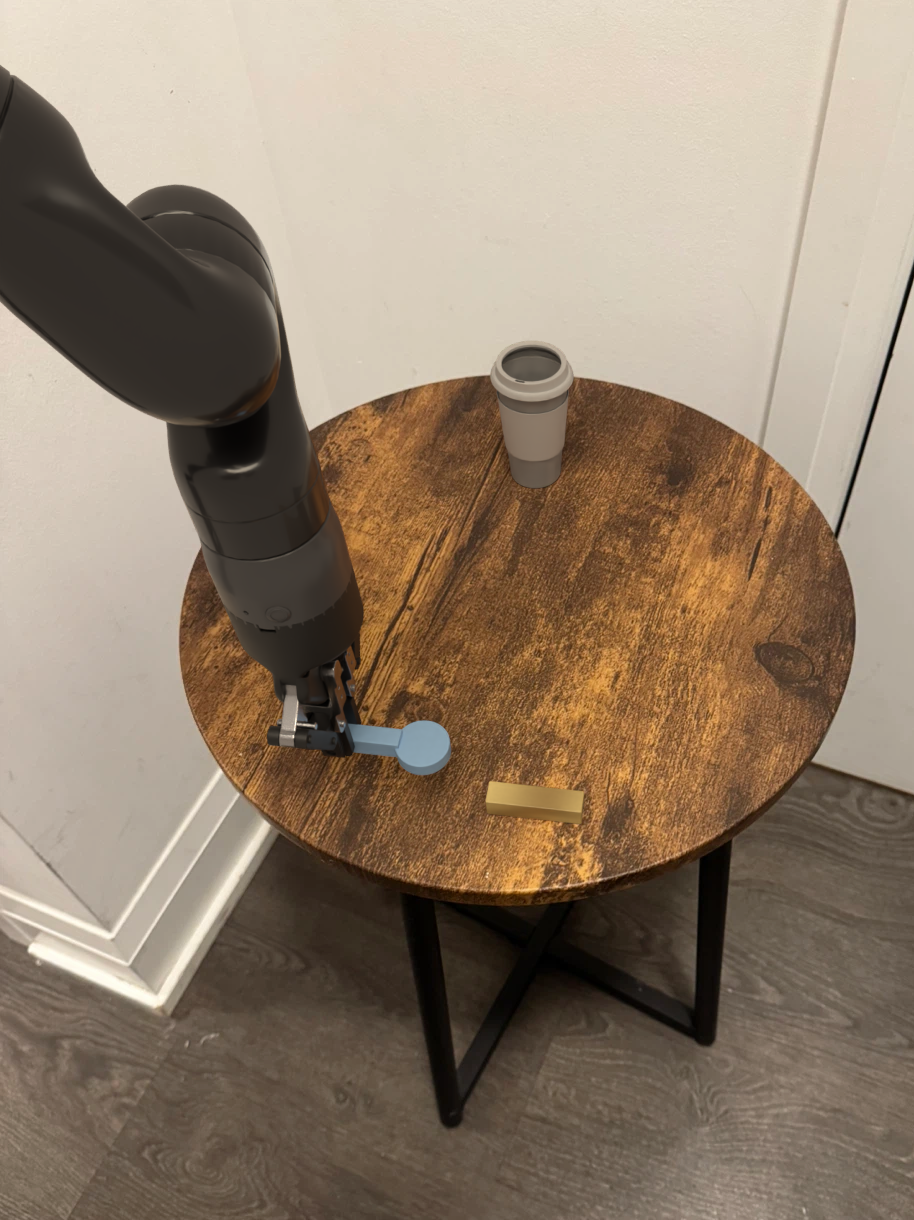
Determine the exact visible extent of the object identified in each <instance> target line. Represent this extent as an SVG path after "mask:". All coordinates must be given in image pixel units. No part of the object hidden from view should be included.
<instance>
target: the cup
mask: <svg viewBox="0 0 914 1220" xmlns="http://www.w3.org/2000/svg"><path fill="white" fill-rule="evenodd" d="M574 374H575V373H574V370H573V367H572V365H571V363H570V362H569V360H568V359H567V357H566V355H565V353H564V352H563V351H562V350H561V349H560V348H559V347H558V346H556V345H554V344H551V343H549V342H546V341H542V340H524V341H519V342H514V343H513V344H510V345H508V346H506V347H505V348H503V349H502V350H501V351H500V352H499V354H497V357H496V360H495V361H494V363H493V364H492V366H491V369H490V374H489V378H490V382H491V385H492V386H493V388H494V389H495V390H496V397H497V403H498V409H499V410H498V411H499V416H500V423H501V428H502V433H503V440H504V445H505V448H506V451H507V455H508V461H509V468H510V475H511V477H512V479H513V480H514V482H516V483H517V484H519V485H520V486H522V487H524V488H527V489H542V488H546V487H548V486H551V485H552V484H554V483H555V482H556V481H557V480H558V479H559V478H560V476H561V471H562V460H563V459H562V458H563V449H564V447H565V440H566V429H567V417H568V404H569V393H570V392H569V388H570V387H571V386H572V384H573V382H574Z"/></svg>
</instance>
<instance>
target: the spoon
mask: <svg viewBox="0 0 914 1220" xmlns="http://www.w3.org/2000/svg"><path fill="white" fill-rule="evenodd" d="M348 726H349V729H350V732H351V735H352V738H353V742H354V745H355V748H354V752H353V753H356V754H365V755H373V756H380V757H381V756H382V757H392V758H396V760H397V762H398V764H399V765H400V767H401V768H402V769H404V770H405V772H408V773H410V774H412V775H415V776H428V775H432V774H436V773H437V772H439V771H441V770H442V769H443V768H444V767H445V766H446V765H447V764H448V762H449V761H450V758H451V755H452V746H451V744H452V743H451V739H450V735H449V733H448V731H447V729H445V728H444V726H442V725H441V724H439V723H438V722H435V721H433V720H432V721H431V720H416V721H412V722H410V723H408V724H407V725H405V726H404V727H402V728H394V727H386V726H385V727H384V726H376V725H367V724H361V725H359V724H358V725H356V724H348Z"/></svg>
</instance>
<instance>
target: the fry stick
mask: <svg viewBox="0 0 914 1220" xmlns="http://www.w3.org/2000/svg"><path fill="white" fill-rule="evenodd" d="M484 802H485V810H486V814H488V815H494V816H503V817H511V818H512V817H514V818H521V819H530V820H531V819H532V820H538V821H539V820H540V821H549V822H557V823H558V822H559V823H565V824H566V823H567V824H576V825H577V824H578V825H582V822H583V817H584V816H583V815H584V810H585V809H584V808H585V791H583V790H575V789H566V788H558V787H557V788H556V787H548V786H547V787H546V786H540V785H539V786H538V785H531V784H530V785H529V784H520V783H511V782H502V781H501V782H500V781H492V780H490V781H489V782H488V786H487V791H486V796H485V801H484Z"/></svg>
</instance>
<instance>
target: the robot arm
mask: <svg viewBox="0 0 914 1220" xmlns="http://www.w3.org/2000/svg"><path fill="white" fill-rule="evenodd" d="M274 274H275V273H274V270H273V267H272V263H271V260H270V257H269V254H268V252H267V249H266V247H265V245H264V243H263V241H262V239H261V237H260V236H259V233H257V231H256V229H255V227H253V225H252V224H251V223H250V222H249V220H248V219H247V218H246V217H245V216H244V215H243V214H242V213H241V212H240V211H239V210H238V209H237V208H236V207H235V206H233V205H232V204H231V203H229V202H228V201H226V200H225V199H223V198H222V197H220V196H219V195H217V194H215V193H213V192H210V191H208V190H206V189H203V188H200V187H197V186H193V185H187V184H177V183H176V184H167V185H161V186H160V185H159V186H155V187H153V188H150V189H147V190H146V191H144V192H142V193H140V194H139V195H137V196H136V197H134V198H133V199H132V200H131V201H129V202H128V203H127V204H126V205H125V204H124V202H122V201H121V200H120V199H118V198H117V197H116V196H115V195H114V194H113V193H111V191H110V190H108V188H107V187H105V186H104V184H103V183H102V182H101V181H100V179H99V178H98V177H97V176H96V174H95V172H94V170H93V169H92V167H91V164H90V162H89V160H88V158H87V154H86V152H85V149H84V146H83V145H82V142H81V140H80V138H79V136H78V133H77V132H76V130H75V129H74V126H73V125H72V124H71V123H70V121H69V120H68V119H67V118H66V117H65V116H64V114H63V113H61V112H60V111H59V110H58V109H57V108H56V107H55V105H53V104H52V103H51V102H50V101H48V100H47V99H46V98H45V97H44V96H43V95H41V94H40V93H39V92H38V91H36V90H35V89H34V88H33V87H31V86H30V85H29V84H27V83H26V82H25V81H24V80H22V79H21V78H20V77H18V76H17V75H15V74H11V71H10V70H8V69H6V68H5V67H4V66H2V65H1V64H0V303H1V304H2V305H3V306H4V307H5V308H6V309H7V310H8V311H9V312H10V313H11V314H12V315H13V316H15V317H16V318H17V319H18V320H19V321H21V322H22V323H23V324H24V325H25V326H26V327H27V328H28V329H30V330H31V331H32V332H34V333H35V334H36V335H37V336H38V337H40V339H42V340H43V341H44V342H45V343H47V344H48V345H49V346H50V347H52V349H54V350H55V352H57V353H58V354H60V355H61V356H62V357H63V358H64V359H66V361H68V362H69V363H70V364H71V365H73V366H74V367H75V368H76V369H77V370H79V371H80V372H81V373H82V374H84V375H85V376H86V377H87V378H89V379H90V380H91V381H92V382H94V384H96V385H98V387H100V388H101V389H103V391H105V392H107V393H109V394H110V395H112V396H113V397H114V398H116V399H117V400H119V401H120V402H122V403H123V404H126V405H128V406H129V407H131V408H133V409H134V410H137V412H140V413H142V414H144V415H147V416H149V417H151V418H154V419H157V420H160V421H162V422H165V424H166V437H167V448H168V449H167V450H168V456H169V462H170V467H171V471H172V474H173V478H174V480H175V483H176V486H177V489H178V492H179V494H180V496H181V499H182V501H183V504H184V506H185V508H186V510H187V513H188V515H189V517H190V519H191V522H192V524H193V527H194V530H195V531H196V533H197V536H198V539H199V543H200V546H201V552H202V555H203V559H204V562H205V565H206V568H207V571H208V574H209V575H210V578H211V580H212V582H213V585H214V587H215V589H216V591H217V594H218V596H219V599H220V600H221V603H222V605H223V607H224V610H225V612H226V614H227V617H228V619H229V620H230V623H231V626H232V628H233V631H234V633H235V635H236V637H237V639H238V642H239V644H240V646H241V647H242V649H243V650H244V652H246V654H247V655H248V656H249V657H250V658H252V659H253V660H254V661H255V662H257V663H258V664H259V665H261V666H262V667H264V668H265V669H266V670H267V671H268V672H270V673H271V676H272V681H273V690H274V695H275V697H276V698H277V700H278V701H279V702H280V703H282V704H283V707H282V715H281V718H277V720H276V725H270V726H269V727H268V729H267V733H266V743H267V745H268V746H270V747H278V748H279V747H280V748H290V749H298V750H299V749H300V750H308V751H309V750H311V751H321V755H323V756H325V757H330V758H339V759H340V758H341V759H346V758H347V757H349V758H350V757H353V755H354V753H355V752H354V748H355V745H354V742H353V738H352V735H351V732H350V729H349V726H348V724H356V725H358V724H359V725H363V724H362V723H363V721H362V718H361V715H360V712H359V708H358V705H357V702H356V699H355V694H356V691H357V681H356V679H355V676H354V674H355V673H354V672H355V671H358V670H359V669H360V666H361V663H362V658H361V633H360V632H361V629H362V628H363V623H364V616H365V611H364V610H365V609H364V602H363V599H362V595H361V591H360V588H359V583H358V580H357V577H356V573H355V570H354V569H355V568H354V565H353V562H352V558H351V555H350V551H349V547H348V544H347V539H346V536H345V532H344V528H343V526H342V523H341V520H340V517H339V516H338V513H337V511H336V509H335V507H334V505H333V503H332V501H331V497H330V495H329V493H328V492H329V491H328V488H327V484H326V480H325V477H324V474H323V470H322V466H321V463H320V459H319V454H318V451H317V448H316V446H315V442H314V440H313V437H312V434H311V432H310V430H309V426H308V424H307V421H306V419H305V415H304V412H303V409H302V406H301V402H300V399H299V398H300V397H299V395H298V389H297V385H296V378H295V373H294V372H295V371H294V369H293V368H294V367H293V362H292V357H291V352H290V346H289V340H288V336H287V331H286V325H285V321H284V320H285V319H284V315H283V310H282V306H281V301H280V296H279V292H278V288H277V282H276V278H275V275H274Z"/></svg>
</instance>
